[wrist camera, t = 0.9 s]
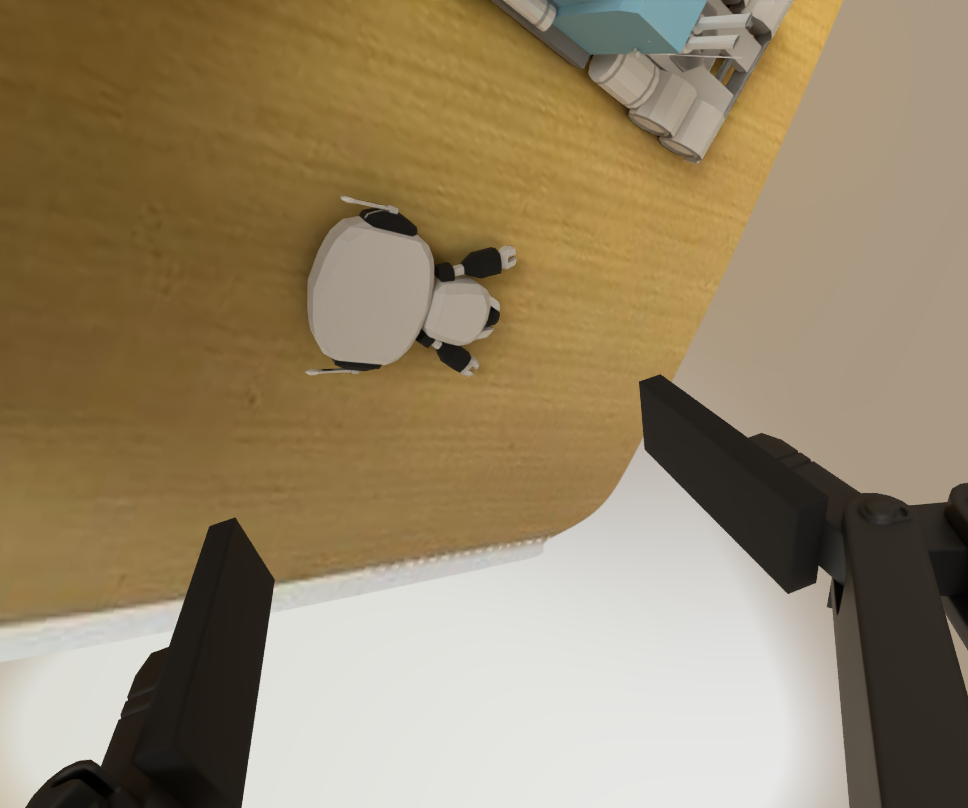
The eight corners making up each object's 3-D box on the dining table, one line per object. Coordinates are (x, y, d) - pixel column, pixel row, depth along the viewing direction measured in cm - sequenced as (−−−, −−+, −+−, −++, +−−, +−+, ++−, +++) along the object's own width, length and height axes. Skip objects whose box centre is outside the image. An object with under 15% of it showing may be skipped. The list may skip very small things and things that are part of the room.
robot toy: (506, 232, 41) (318, 179, 33) (535, 249, 38) (335, 195, 30) (460, 366, 46) (288, 350, 38) (483, 391, 43) (299, 379, 35)
